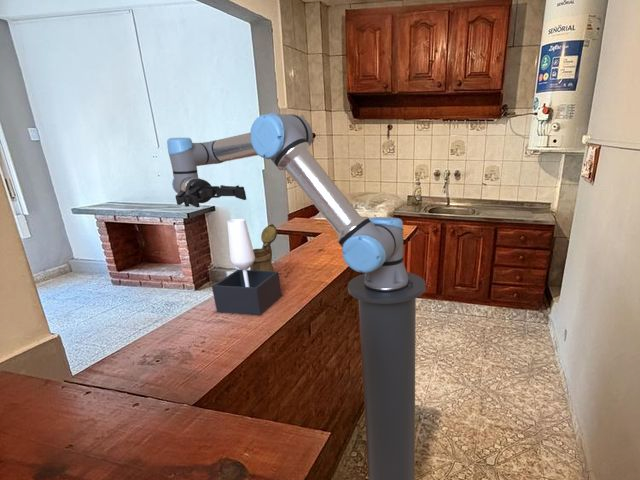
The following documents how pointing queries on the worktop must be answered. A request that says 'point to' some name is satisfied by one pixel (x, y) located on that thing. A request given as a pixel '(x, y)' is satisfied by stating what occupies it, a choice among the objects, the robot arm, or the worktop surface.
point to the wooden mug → (265, 250)
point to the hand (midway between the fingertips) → (221, 198)
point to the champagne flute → (240, 246)
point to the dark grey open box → (247, 292)
